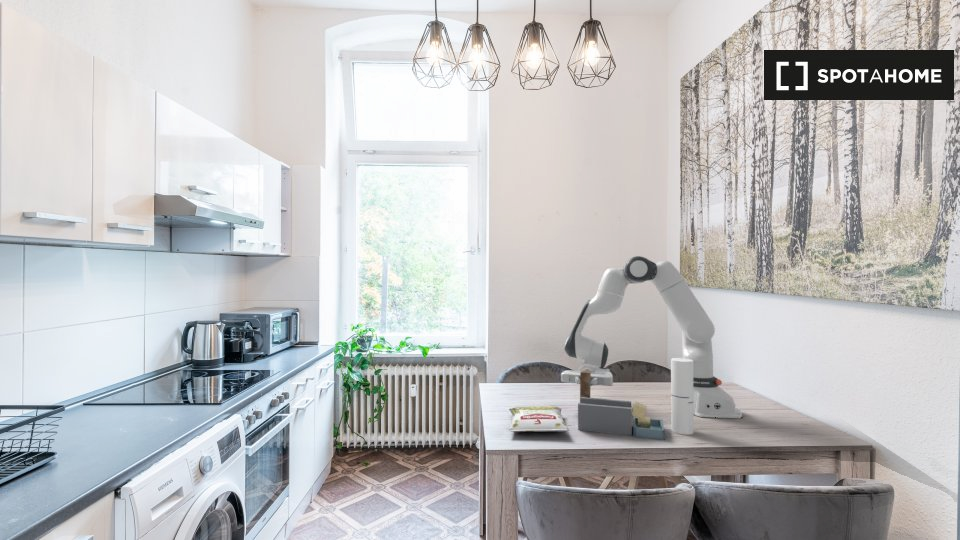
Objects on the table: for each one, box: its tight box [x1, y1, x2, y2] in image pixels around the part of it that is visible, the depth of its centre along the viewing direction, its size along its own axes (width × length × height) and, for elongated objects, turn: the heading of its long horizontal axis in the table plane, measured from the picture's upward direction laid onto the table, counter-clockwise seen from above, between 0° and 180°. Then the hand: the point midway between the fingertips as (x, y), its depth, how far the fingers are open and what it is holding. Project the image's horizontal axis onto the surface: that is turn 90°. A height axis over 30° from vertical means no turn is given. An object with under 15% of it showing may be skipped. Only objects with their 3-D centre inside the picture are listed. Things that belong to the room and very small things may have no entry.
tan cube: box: [632, 401, 648, 420], centre depth 156 cm, size 4×4×4 cm
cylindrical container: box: [670, 357, 695, 436], centre depth 156 cm, size 7×7×25 cm
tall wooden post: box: [579, 370, 592, 399], centre depth 172 cm, size 4×5×16 cm
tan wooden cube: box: [638, 416, 651, 429], centre depth 155 cm, size 4×4×4 cm
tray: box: [632, 416, 666, 441], centre depth 155 cm, size 10×12×3 cm
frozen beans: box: [508, 406, 570, 433], centre depth 161 cm, size 21×6×25 cm
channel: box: [577, 397, 633, 436], centre depth 160 cm, size 18×10×9 cm, turn 72°
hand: (585, 382), depth 172 cm, fingers closed on tall wooden post, 3 cm apart
